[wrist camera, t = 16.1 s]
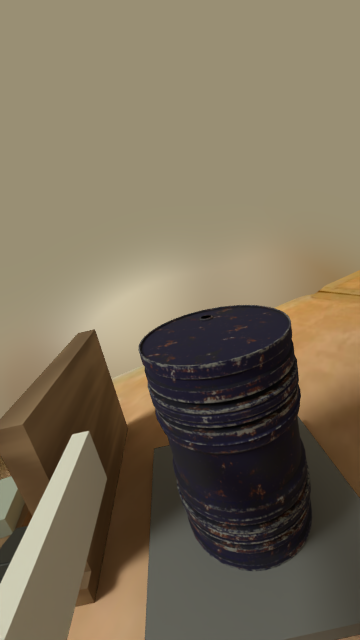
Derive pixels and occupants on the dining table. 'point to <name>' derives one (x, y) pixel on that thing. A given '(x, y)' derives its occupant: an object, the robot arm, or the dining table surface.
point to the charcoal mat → (256, 586)
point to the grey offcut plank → (9, 506)
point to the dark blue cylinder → (234, 430)
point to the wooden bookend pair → (67, 435)
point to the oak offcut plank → (20, 522)
